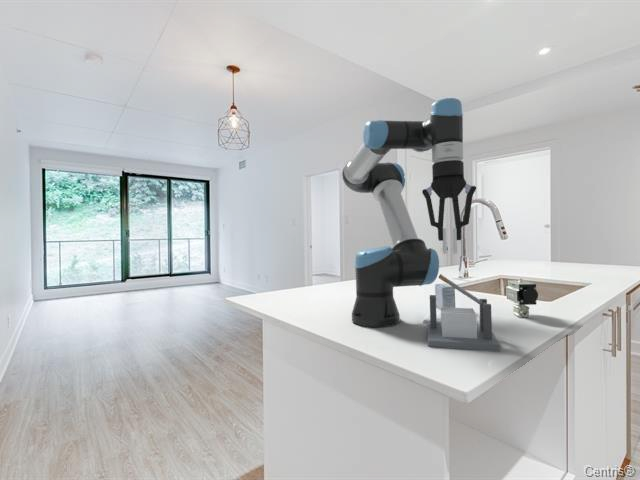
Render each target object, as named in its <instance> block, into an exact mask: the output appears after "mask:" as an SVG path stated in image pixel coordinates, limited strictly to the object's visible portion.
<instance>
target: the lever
mask: <svg viewBox="0 0 640 480" xmlns="http://www.w3.org/2000/svg"><path fill="white" fill-rule="evenodd" d="M438 279H440V280H441V281H442V282H444V283H445V284H449V285H451V286H452V287H454V288H455V290H456V291H458V292H460V293H461V294H462V295H464V296H466V297H467V298H469V299H470V300H472V301H473V302H474V303H477V304H478V305H479V306H480V305H481V306H482V307H483V304H488V302H487V303H486V302H485V301H481V300H479V299H480V298H477V297H476V296H475V295H473V294H472V293H470V292H468V291H467V290H466V289H464V288H462V287H461V286H459V285H458V284H456V283H455V282H453V281H451V280H450V279H449V278H447V277H445V276H444V275H443V274H442V273H441V274H439V275H438Z"/></svg>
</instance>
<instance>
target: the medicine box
mask: <svg viewBox="0 0 640 480" xmlns="http://www.w3.org/2000/svg"><path fill="white" fill-rule="evenodd" d="M434 295H436V309H438V310H440V311H441V307H445V308H457V307H456V289H455V288H454V287H452V286H451V285H449V284H447V283H436V284H434Z"/></svg>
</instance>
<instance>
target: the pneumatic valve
mask: <svg viewBox="0 0 640 480" xmlns="http://www.w3.org/2000/svg"><path fill="white" fill-rule="evenodd" d="M504 296H505V297H506V299H507V300H509V301H511V302H514V304H513V305H512V307H513V314H512V315H513V316H515V317H518V318H519V319H520V318H531V317H530V316H531V315H530V306H531V305H532V306H533V305H534V306H536V305H537V300H538V298H539V293H538V291H537V284H536V283H533V282H530V281H527V280H524V279H523V278H518V279H509V280H508V279H507V280H506V285H505V286H504ZM528 305H530V306H528Z"/></svg>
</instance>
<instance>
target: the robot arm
mask: <svg viewBox="0 0 640 480" xmlns="http://www.w3.org/2000/svg"><path fill="white" fill-rule="evenodd" d="M429 115H430V117H429V118H427V119H425V120H424V121H423V120H422V121H419V120H418V121H417V120H383V119H380V120H370V121H367V122H366V124H365V125H364V129H363V133H362V134H363V135H362V138H363V139H362V140H363V141H362V142H363V143H362V145H361V146H360V148H359V149H358V151H357V153H356V154H355V156H354V157H353V158H352V159H350V160H349V161H347V162H346V163H345V165H344V167H343V169H342V172H341V173H342V174H341V177H342V180H343V182H344V185H346V187H347V188H349V189H350V190H351V191H353V192H356V193H360V194H363V193H364V194H366V193H367V194H369V193H372V195H373V198H374V200H376V201H377V202H379V205H380V209H381V211H382V214H383V218H384V220H385V223H386V227H387V229H388V233H389V236H390V238H391V242H392V243H391V244H392V245H393V246H392V247H391V246H380V247H379V246H377V247H372V248H371V247H370V248H367V249H362V250H360V251H358V252H356V254H355V259H354V260H355V262H354V263H355V265H354V269H355V286H356V287H355V290H356V291H355V292H356V297H355V302H354V305H353V307H352V311H351V322H352V321H353V322H354V323H353V322H352V323H353V324H355V323H356V324H355V325H357V324H359V325H358V326H361V325H363V326H362V327H368V326H370V327H371V328H381V327H382V328H384V327H390V326H394V325H397V324H399V323H400V322H401V321H400V319H401V318H400V312H399V309H398V306H397V303H396V300H395V298H394V288H395V287H396V288H397V287H398V288H399V287H412V286H419V287H421V286H424V285H426V286H427V285H431V284H432V283H434V282H435V281H436V279H437V278H438V276H439V275H438V274H439V271H440V258H439V254H438V251H436V250H435V249H434V248H427V246H426V243H425V241H424V240H423V239H421V238H419V237H418V235H417V232H416V230H415V226H414V225H413V221H412V219H411V217H410V213H409V211H408V209H407V205H406V203H405V200H404V198H403V195H402V192H403V190H404V188H405V184H406V178H405V171H404V169H403V167H402V166H401V165H400V164H399V163H397V162H396V163H394V162H389V161H388V162H381V160H383V158H384V157H385V156H386V154H387V153H389V152H390V151H391V150H400V149H402V150H405V149H406V150H407V149H408V150H412V151H415V152H417V153H424V152H427V151H430V150H431V162H433V164H432V165H431V166H432V167H431V168H432V169H431V170H432V172H431V173H432V181H431V183H430V186H429V187H427V188H425V189H422V191H421V192H422V195H423V197H424V199H425V202H426V206H427V213H428V217H429V222H430V223H429V224H430V226H432V227H435V228H437V237H438V241H440V242H441V241H442V253H443V255H446V254H448V251H447V247H448V246H447V245H448V244H447V228H445V227H444V217H445V216H444V215H445V204H446V203H445V201H446V199H448V198H449V199H451V201H452V209H453V210H452V211H453V216H454V217H453V219H454V224H455V227H452V228H451V229H452V253H453V254H455V255H456V254H458V243H457V242H458V241H461V239H462V228H463V227H464V226H467V225H469V224H470V223H469V222H470V216H471V210H472V203H473V196H474V194H475V192H476V190H477V187H476V186H475V185H471V184H469V183H467V181H466V179H465V177H464V176H465V174H464V173H465V172H464V170H465V169H464V168H465V167H464V161H462V160H463V159H464V141H463V140H464V138H463V137H464V135H463V134H464V130H463V129H464V127H463V126H464V125H463V121H464V120H463V116H464V114H463V107H462V102H461V100H460V99H459V98H456V97H455V98H454V97H449V98H447V97H446V98H441V99H439V100H438V99H437V100H436V101H434V102H432V104H431V106H430V113H429ZM463 190H465V192H464V193H466V197H465V204H464V210H463V218H461V212H460V204H459V196H460V194H461V192H462V191H463ZM432 191H433V192H434V193H435V194H436V195H437V197H438V198H439V203H438V217H437V218H438V219H437V221H436V218H435V213H434V208H433V207H434V206H433V203H432V198H431V196H432V195H433V192H432ZM461 219H462V220H461ZM370 327H369V328H370Z"/></svg>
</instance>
